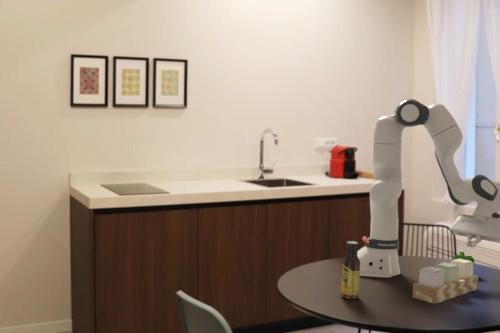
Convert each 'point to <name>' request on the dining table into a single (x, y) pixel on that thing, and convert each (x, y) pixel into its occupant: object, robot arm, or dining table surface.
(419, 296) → the keypad housing
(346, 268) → the sauce bottle
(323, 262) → the dining table surface
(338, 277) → the dining table surface
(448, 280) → the sage key
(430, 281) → the grey key
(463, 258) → the bell pepper
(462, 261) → the cream key
